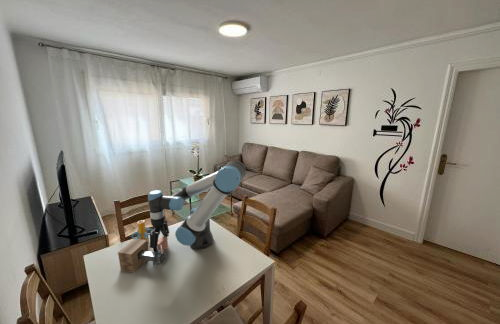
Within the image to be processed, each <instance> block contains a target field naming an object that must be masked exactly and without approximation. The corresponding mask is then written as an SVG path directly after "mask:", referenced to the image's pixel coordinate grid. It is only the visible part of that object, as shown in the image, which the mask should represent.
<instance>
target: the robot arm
mask: <svg viewBox="0 0 500 324" xmlns="http://www.w3.org/2000/svg"><path fill="white" fill-rule="evenodd" d="M246 172H247V169H246V166H245V164H243V162H241V161H239V160H232V161H229V162H228V163H227V164H225V165H224V166H221V168H219V170H217V171H215V172H213V173H211V174H209V175H206V176H204V177H202V178H201V179H198V180H196V181H194V182H192V183H190V184H188V185H183V186H182V187H181V188H180V189H179V190H177V191H175V192H174V193H173V194H171V195H165V194H163V190H160V189H155V190H151V191H150V192H148V194H147V202H148V207H149V215H150V223H151V226H152V230H149V232H148V234H150V235H149V248H150V249H153V251H152V252H154V253H156V252H157V251H158V250H159V248H158V246H157V244H158V240H159V238H160V237H159V236H160V235H161V234H162V236H165V237H167V247H169V242H168V237H169V236H170V235H169V234H170V229H169V225H168V220H167V219H166V217H165V210H169V211H180V210H182V209H183V207H184V206H185V205H184V204H185V201H186V200H188V199H191V198H193V197H196V196H197V195H200V194H202V193H203V192H207V191H208V192H207V194H206V195H204V197H203V199H202V200H201V202H200V203H199V205H198V206H197V207H194V208H192V209H190V210H189V214H188V215H187V217H186V218H185V219H184V220H183V222H182V223H181V224H180V225H179V227H177V229H176V231H175V234H174V236H175V238H176V240H177V242H178V243H180V244H181V245H183V246H190V248H192V249H193V250H194V249H195V250H204V249H207V248H209V247H211V245H212V244H213V243H214V235H213V233H212V231H211V222H210V221H211V220H210V218H211V217H212V216H213V214H214V212H216V210H217V209H218V207H220V204H221V203H222V202H223V200H224V199H225V198H226V197H227V196H230V195H232V194H233V192H234V191H235V190H236V189H237V188H238V187H239V185H240V184H241V182H242V180H244V178H245V176H246V174H247V173H246Z"/></svg>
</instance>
